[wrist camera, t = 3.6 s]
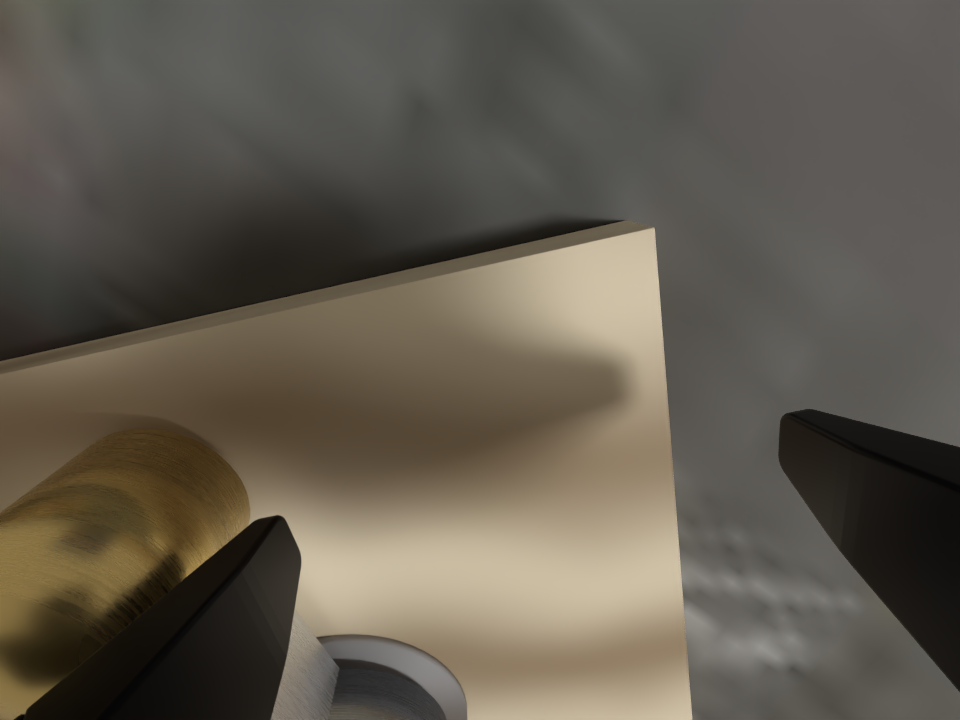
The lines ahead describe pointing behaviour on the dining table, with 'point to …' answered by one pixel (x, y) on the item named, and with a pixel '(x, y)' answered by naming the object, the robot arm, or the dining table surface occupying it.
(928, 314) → the dining table surface
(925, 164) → the dining table surface
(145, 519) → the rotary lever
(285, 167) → the dining table surface
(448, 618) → the board
